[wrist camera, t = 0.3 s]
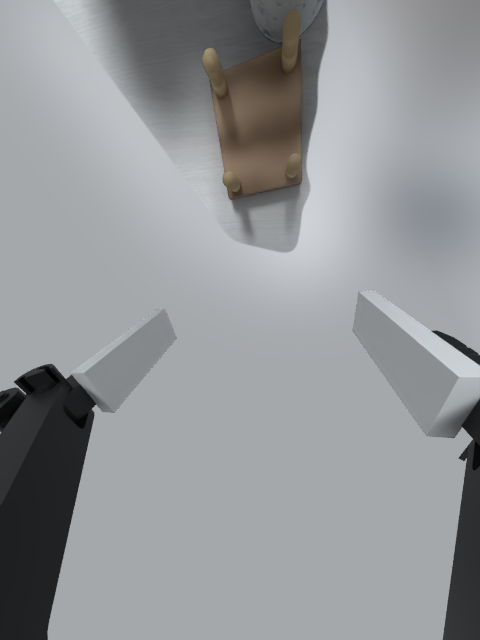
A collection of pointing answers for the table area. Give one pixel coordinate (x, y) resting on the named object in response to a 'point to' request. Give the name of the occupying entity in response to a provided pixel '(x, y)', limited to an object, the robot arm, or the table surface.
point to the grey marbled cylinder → (282, 15)
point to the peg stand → (260, 116)
